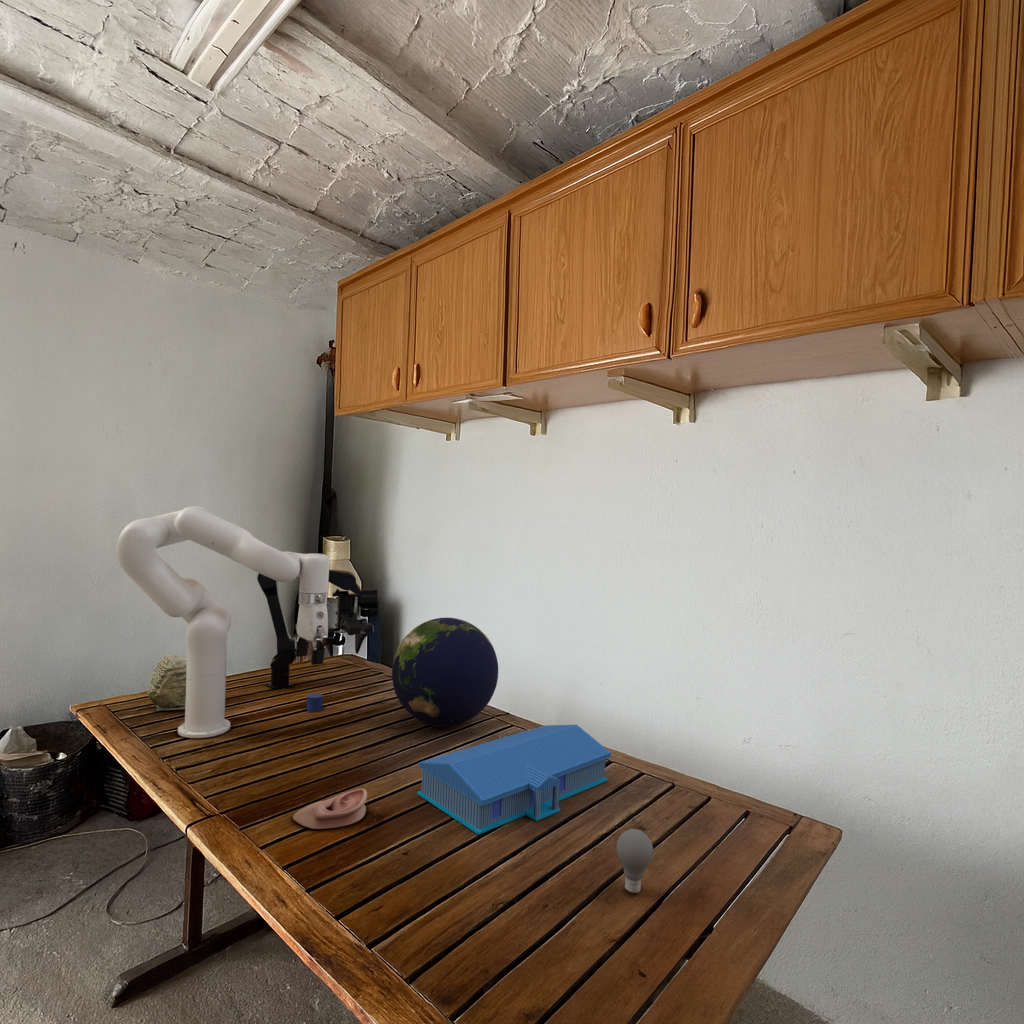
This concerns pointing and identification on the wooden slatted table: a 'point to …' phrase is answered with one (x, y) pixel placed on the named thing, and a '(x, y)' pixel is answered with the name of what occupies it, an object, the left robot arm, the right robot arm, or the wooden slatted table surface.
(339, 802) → the anatomical model
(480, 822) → the model building
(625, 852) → the light bulb
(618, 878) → the wooden slatted table surface
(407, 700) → the globe
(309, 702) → the canister
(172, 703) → the fossil
